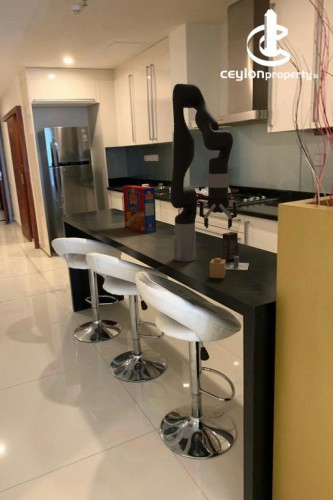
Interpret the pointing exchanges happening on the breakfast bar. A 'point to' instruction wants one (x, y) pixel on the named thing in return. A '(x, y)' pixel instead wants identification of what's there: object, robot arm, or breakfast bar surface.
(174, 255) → the robot arm
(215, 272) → the orange toy brick
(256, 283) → the breakfast bar surface
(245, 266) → the square plate with peg
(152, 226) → the pasta box
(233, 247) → the box
